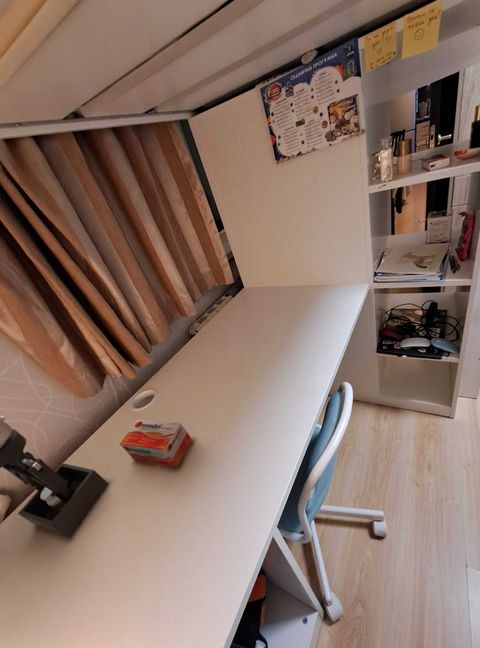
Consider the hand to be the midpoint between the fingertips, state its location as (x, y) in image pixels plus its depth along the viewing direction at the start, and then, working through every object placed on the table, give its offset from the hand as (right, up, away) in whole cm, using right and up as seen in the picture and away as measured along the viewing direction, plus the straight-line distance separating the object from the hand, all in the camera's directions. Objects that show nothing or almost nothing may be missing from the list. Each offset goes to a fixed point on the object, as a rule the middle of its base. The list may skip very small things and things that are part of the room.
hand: (66, 498), depth 71 cm
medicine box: (+21, +9, +8) cm, 24 cm away
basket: (+1, -2, +2) cm, 3 cm away
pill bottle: (+1, -2, +1) cm, 2 cm away
